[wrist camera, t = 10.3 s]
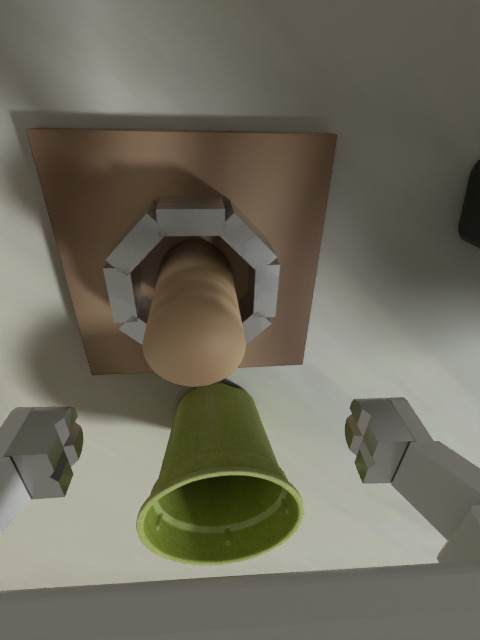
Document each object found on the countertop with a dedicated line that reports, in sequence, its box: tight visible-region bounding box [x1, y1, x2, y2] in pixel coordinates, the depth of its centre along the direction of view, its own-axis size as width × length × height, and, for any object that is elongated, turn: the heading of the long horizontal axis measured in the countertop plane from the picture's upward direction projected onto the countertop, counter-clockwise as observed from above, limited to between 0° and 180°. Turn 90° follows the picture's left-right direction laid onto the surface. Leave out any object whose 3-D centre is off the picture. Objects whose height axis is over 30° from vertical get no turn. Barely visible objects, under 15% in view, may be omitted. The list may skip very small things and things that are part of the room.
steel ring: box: [103, 196, 280, 345], centre depth 18 cm, size 8×8×2 cm
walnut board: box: [26, 128, 337, 375], centre depth 20 cm, size 14×14×1 cm
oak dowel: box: [143, 240, 246, 387], centre depth 17 cm, size 4×4×7 cm
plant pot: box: [136, 383, 304, 565], centre depth 23 cm, size 9×9×9 cm
